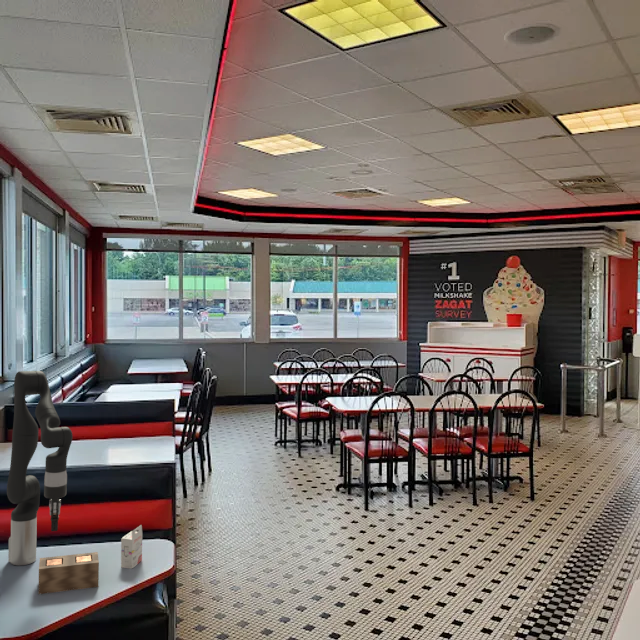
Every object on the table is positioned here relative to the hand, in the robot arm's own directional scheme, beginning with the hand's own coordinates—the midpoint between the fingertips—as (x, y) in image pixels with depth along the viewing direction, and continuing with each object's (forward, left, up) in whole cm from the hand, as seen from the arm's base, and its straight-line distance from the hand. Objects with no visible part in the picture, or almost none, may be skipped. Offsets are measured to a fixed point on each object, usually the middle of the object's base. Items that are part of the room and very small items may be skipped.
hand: (54, 530), depth 238 cm
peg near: (0, 0, -20) cm, 20 cm away
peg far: (+8, +7, -20) cm, 23 cm away
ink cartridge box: (+14, +27, -21) cm, 37 cm away
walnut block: (+4, +3, -21) cm, 21 cm away
